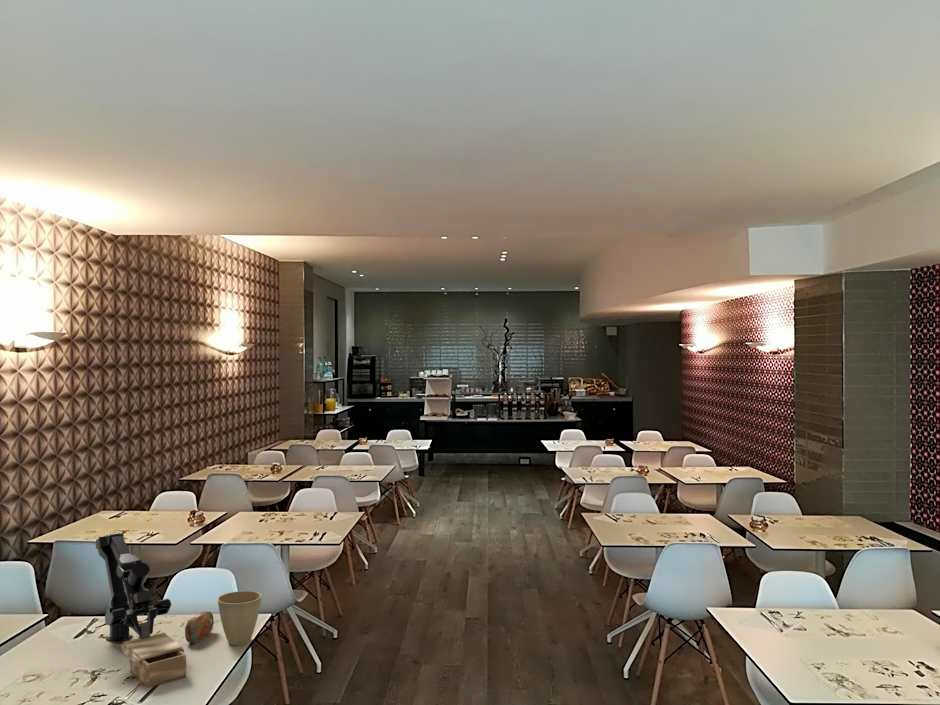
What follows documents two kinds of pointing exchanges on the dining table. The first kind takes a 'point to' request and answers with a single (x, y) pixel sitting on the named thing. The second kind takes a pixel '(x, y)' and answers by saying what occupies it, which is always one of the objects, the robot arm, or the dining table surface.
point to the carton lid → (149, 645)
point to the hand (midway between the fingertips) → (146, 634)
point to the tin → (199, 627)
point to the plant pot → (239, 615)
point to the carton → (160, 668)
